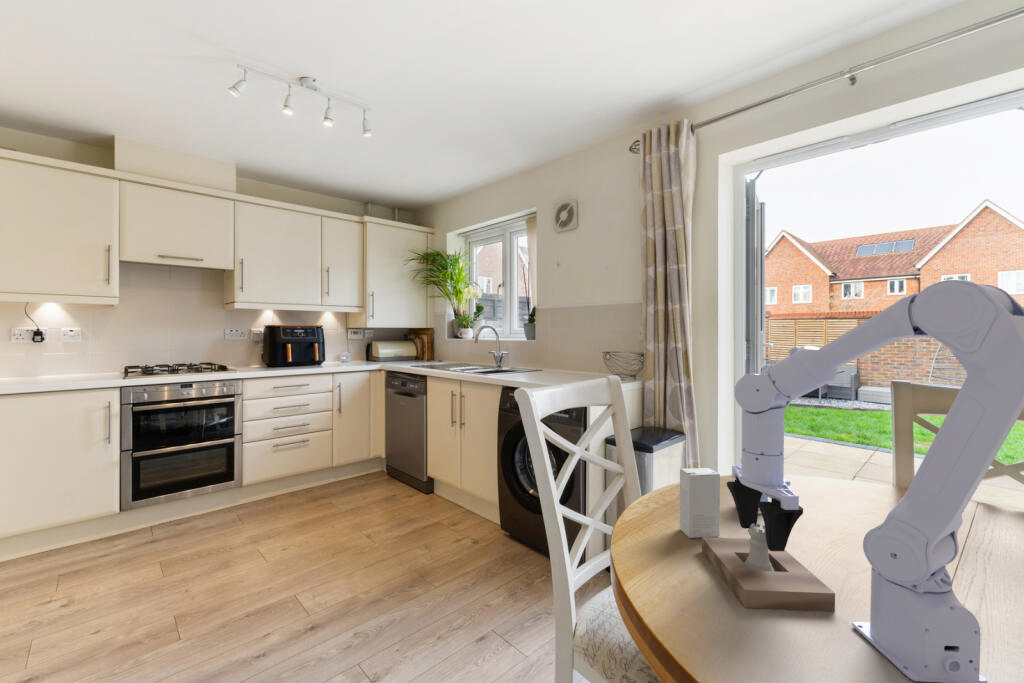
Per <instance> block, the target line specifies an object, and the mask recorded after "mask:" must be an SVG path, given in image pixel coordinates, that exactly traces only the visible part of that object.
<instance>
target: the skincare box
mask: <svg viewBox="0 0 1024 683" xmlns="http://www.w3.org/2000/svg"><path fill="white" fill-rule="evenodd" d="M720 487H721V474H720V473H719V472H717V471H716V470H713V469H711V468H709V467H697V468H693V467H692V468H680V469H679V529H680V531H682V533H683V534H684V535H685V536H686V537H687V538H690V539H698V538H699V539H700V538H701V539H702V537H715V538H720V523H721V522H720V517H721V516H720V512H721V510H720V507H721V506H720V503H721V500H720V499H721V497H720V496H721V495H720V494H721V488H720Z"/></svg>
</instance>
